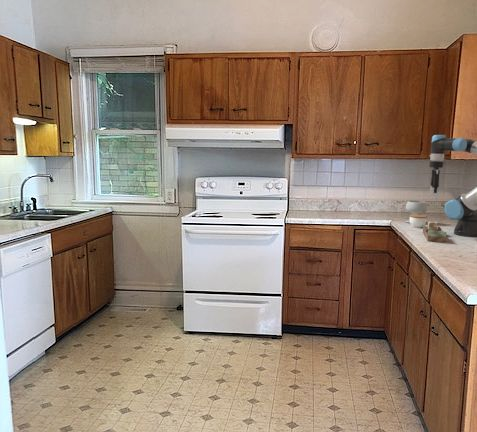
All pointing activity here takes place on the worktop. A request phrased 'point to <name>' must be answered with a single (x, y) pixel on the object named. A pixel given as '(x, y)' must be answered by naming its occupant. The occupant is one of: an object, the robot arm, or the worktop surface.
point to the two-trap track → (434, 234)
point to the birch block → (432, 226)
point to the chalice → (416, 207)
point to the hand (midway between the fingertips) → (433, 197)
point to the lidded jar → (418, 220)
